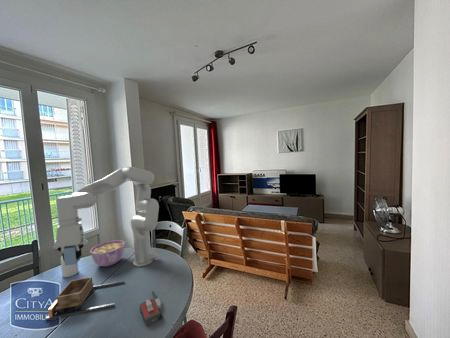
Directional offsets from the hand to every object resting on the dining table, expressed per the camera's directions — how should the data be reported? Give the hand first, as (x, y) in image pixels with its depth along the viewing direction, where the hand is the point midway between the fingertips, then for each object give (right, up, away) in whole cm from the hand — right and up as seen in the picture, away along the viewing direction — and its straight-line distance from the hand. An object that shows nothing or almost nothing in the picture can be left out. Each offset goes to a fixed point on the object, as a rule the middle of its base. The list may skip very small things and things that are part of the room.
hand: (72, 258), depth 97 cm
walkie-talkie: (+40, -21, -6) cm, 45 cm away
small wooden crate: (+1, -22, +1) cm, 22 cm away
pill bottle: (-21, -22, +27) cm, 41 cm away
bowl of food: (-3, -20, +37) cm, 42 cm away
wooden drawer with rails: (+7, -21, +3) cm, 22 cm away
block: (0, -2, 0) cm, 2 cm away
